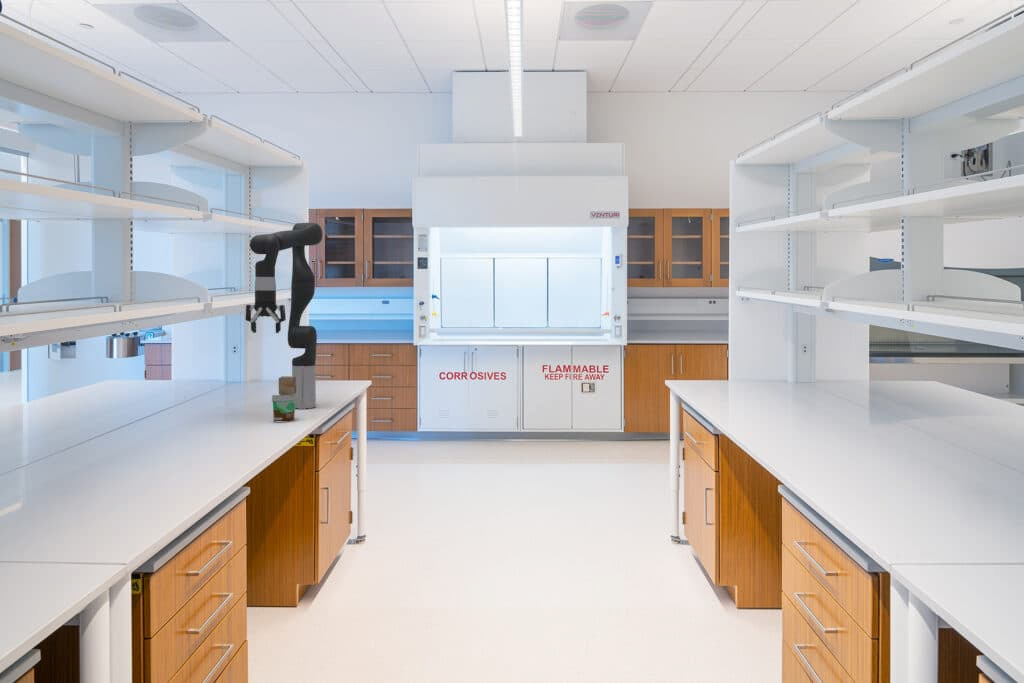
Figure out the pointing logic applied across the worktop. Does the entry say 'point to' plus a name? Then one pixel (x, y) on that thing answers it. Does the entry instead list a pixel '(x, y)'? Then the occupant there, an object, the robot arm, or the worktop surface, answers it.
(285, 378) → the walnut block
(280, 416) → the food container
